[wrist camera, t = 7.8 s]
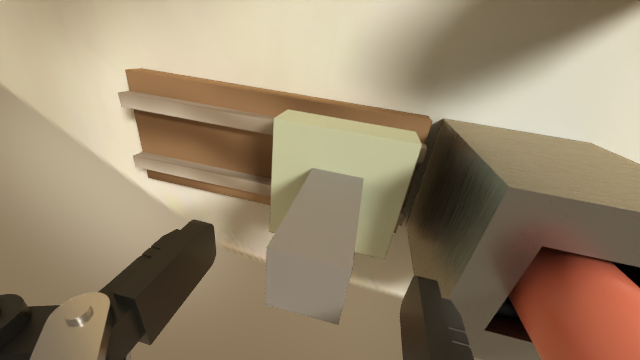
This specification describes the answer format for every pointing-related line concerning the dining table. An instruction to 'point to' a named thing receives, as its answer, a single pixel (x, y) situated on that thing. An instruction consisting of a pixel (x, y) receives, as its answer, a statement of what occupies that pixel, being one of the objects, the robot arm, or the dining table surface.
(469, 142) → the cabinet
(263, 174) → the rail track
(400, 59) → the dining table surface
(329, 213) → the carriage
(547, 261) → the plunger
